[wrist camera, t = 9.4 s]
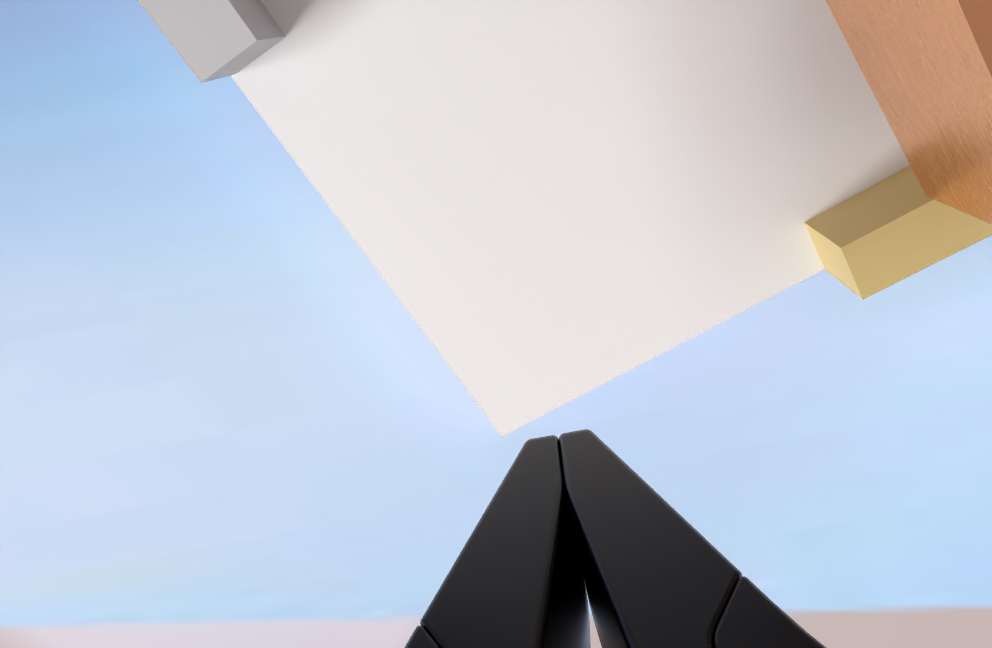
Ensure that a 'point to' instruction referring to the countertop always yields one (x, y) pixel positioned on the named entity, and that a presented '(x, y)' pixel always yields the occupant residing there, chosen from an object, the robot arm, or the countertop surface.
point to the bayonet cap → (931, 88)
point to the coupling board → (579, 167)
